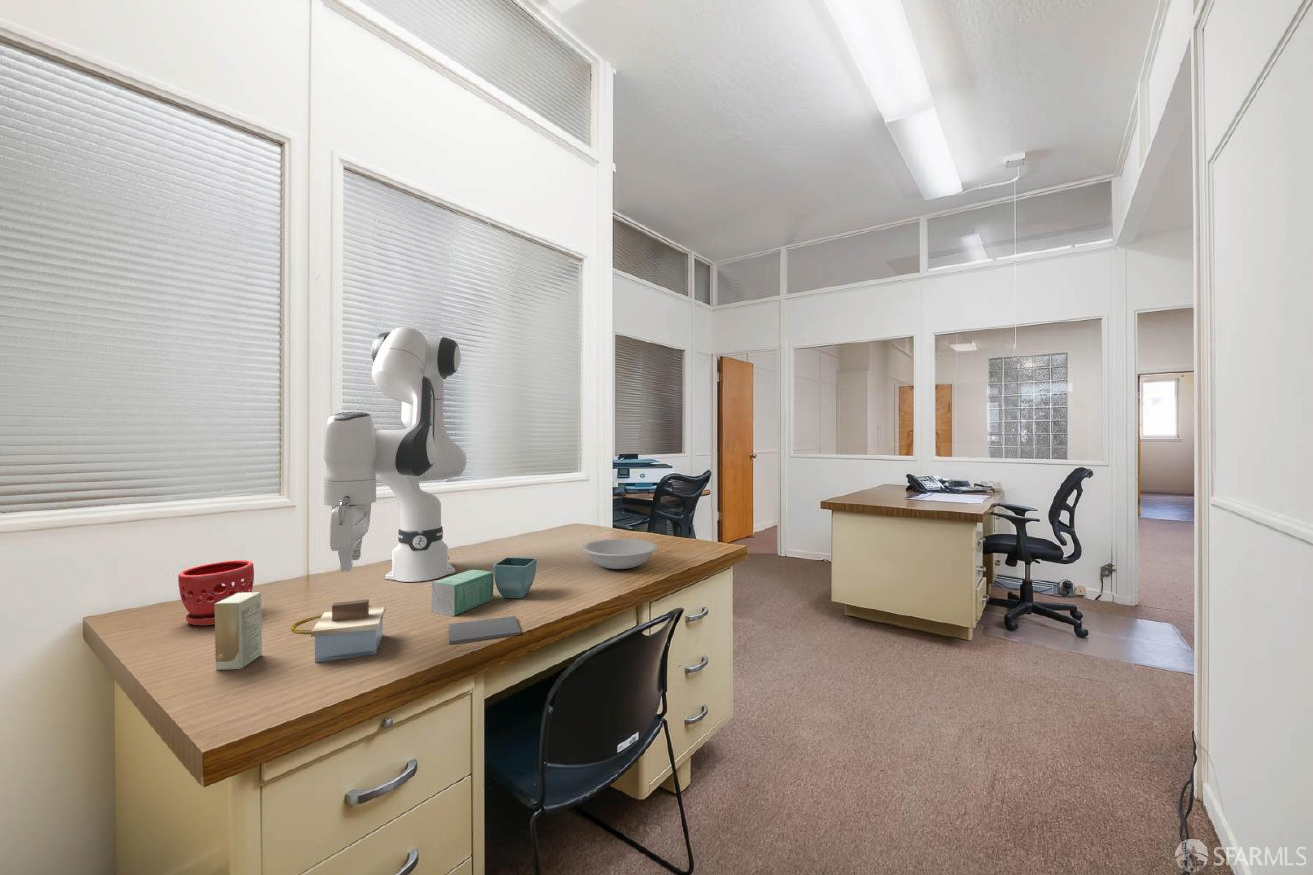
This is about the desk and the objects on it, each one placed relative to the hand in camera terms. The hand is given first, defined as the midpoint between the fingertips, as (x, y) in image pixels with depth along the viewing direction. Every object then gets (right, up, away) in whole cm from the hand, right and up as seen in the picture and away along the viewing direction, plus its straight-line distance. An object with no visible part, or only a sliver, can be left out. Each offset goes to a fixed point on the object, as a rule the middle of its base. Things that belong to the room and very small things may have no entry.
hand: (351, 564), depth 102 cm
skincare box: (-17, -17, -6) cm, 25 cm away
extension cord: (-12, -17, +14) cm, 25 cm away
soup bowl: (+48, -16, +62) cm, 81 cm away
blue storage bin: (0, -17, 0) cm, 17 cm away
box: (+13, -17, +26) cm, 33 cm away
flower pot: (+23, -16, +33) cm, 44 cm away
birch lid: (0, -12, 0) cm, 12 cm away
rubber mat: (+23, -17, +9) cm, 30 cm away
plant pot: (-40, -17, +16) cm, 46 cm away
